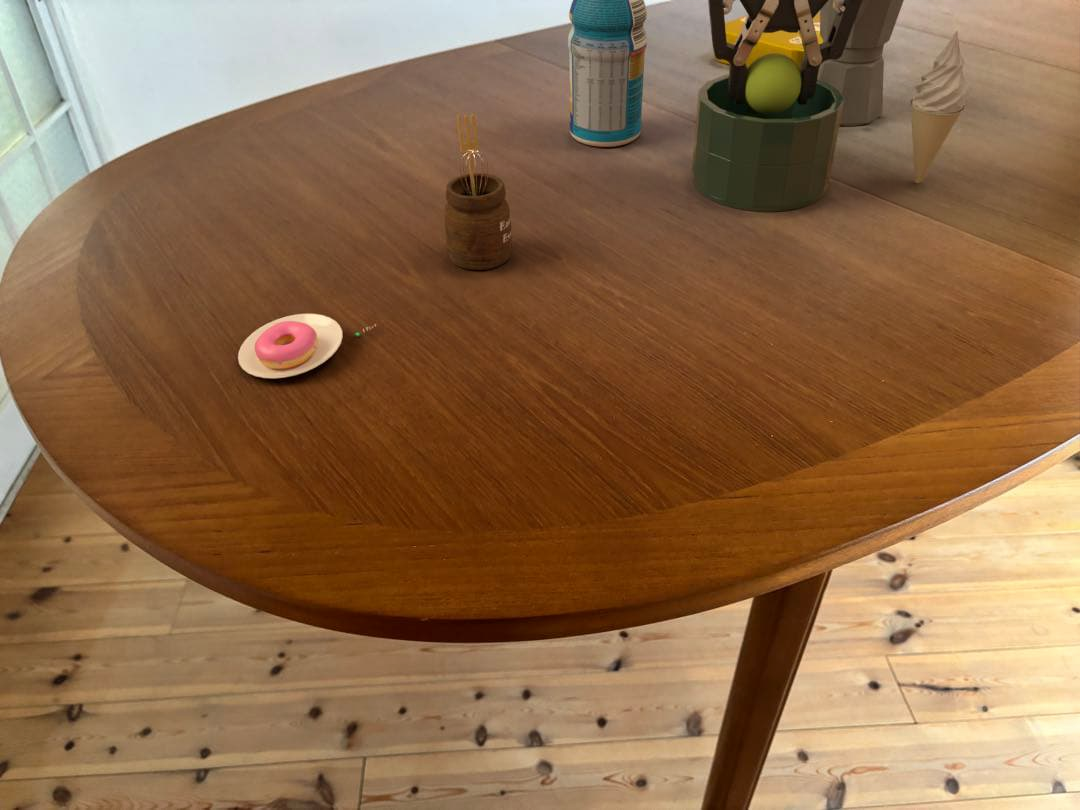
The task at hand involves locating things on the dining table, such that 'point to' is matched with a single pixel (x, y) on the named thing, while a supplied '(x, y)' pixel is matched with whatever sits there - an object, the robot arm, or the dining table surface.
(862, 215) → the dining table surface
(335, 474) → the dining table surface
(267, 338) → the donut
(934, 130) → the ice cream cone
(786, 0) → the robot arm
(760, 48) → the element tile
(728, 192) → the pot
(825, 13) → the coffeepot
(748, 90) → the guava
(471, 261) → the utensil holder
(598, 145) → the beverage bottle
